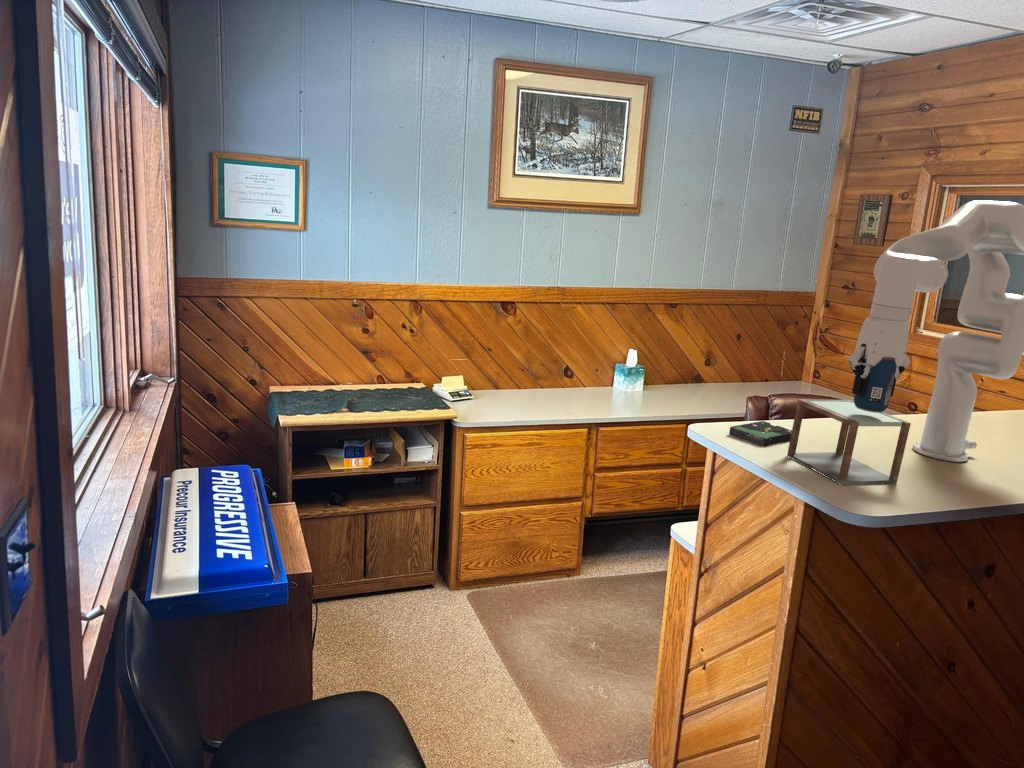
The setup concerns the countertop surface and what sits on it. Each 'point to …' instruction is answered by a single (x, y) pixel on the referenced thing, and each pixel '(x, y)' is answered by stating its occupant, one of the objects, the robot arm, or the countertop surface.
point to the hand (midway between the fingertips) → (872, 394)
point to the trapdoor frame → (845, 450)
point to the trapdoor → (858, 414)
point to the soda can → (878, 387)
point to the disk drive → (761, 433)
